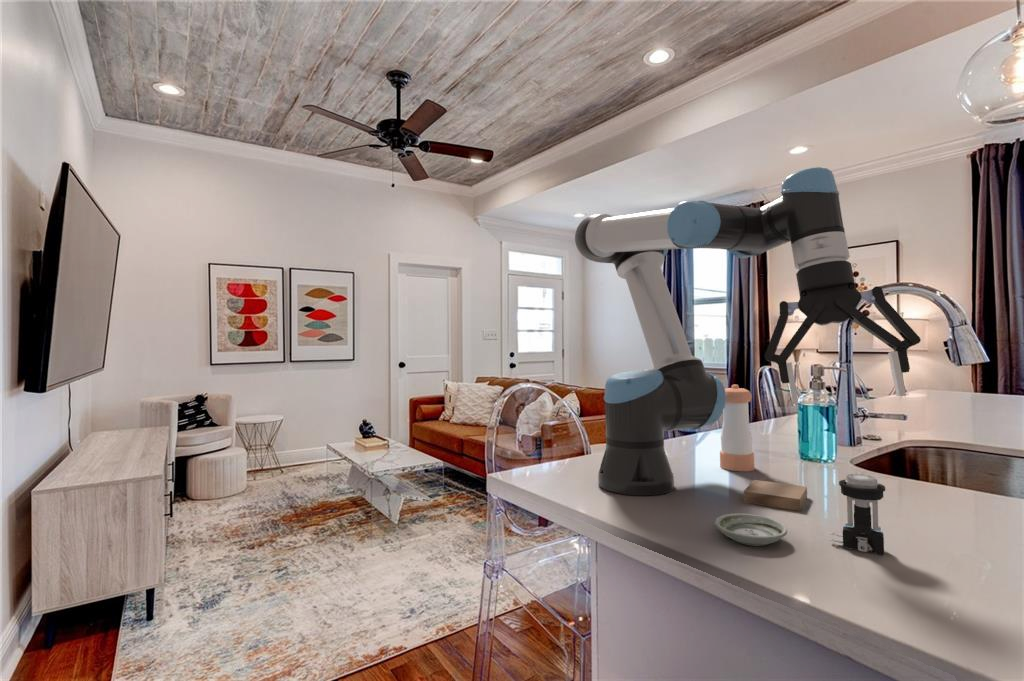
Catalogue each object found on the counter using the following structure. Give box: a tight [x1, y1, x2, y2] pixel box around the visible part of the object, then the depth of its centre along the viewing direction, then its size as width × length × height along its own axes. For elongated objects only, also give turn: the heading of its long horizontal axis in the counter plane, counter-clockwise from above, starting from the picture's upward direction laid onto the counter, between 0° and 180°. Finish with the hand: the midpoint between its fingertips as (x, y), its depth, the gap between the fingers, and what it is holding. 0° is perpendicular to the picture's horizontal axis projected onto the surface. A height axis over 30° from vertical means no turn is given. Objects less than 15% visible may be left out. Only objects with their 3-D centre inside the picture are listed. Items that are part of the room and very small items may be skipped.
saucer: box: [714, 513, 788, 547], centre depth 75 cm, size 10×10×2 cm
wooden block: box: [743, 479, 808, 512], centre depth 93 cm, size 9×9×2 cm
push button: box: [829, 473, 886, 556], centre depth 71 cm, size 7×5×10 cm
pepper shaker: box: [719, 384, 755, 472], centre depth 117 cm, size 7×7×19 cm
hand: (846, 400), depth 77 cm, fingers open, 13 cm apart
